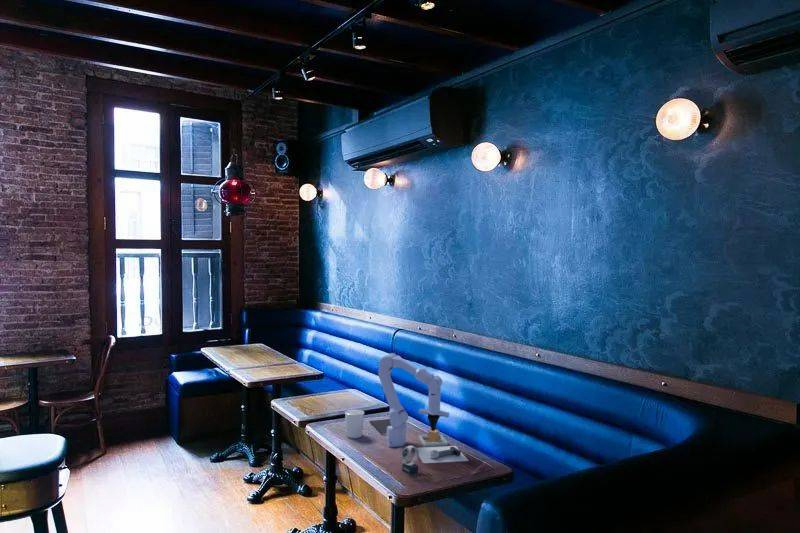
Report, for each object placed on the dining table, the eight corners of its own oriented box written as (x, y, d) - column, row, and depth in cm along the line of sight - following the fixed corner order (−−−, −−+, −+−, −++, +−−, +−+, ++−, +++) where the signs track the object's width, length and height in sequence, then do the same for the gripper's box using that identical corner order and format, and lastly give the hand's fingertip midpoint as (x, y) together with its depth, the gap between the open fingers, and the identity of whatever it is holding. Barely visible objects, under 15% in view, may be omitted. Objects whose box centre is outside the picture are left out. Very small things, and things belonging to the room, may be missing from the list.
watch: (398, 471, 234) (399, 446, 233) (413, 467, 238) (414, 442, 238) (406, 476, 229) (406, 450, 229) (421, 472, 234) (421, 446, 234)
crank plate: (423, 465, 241) (423, 463, 241) (413, 449, 260) (413, 447, 260) (468, 462, 245) (468, 460, 245) (455, 447, 264) (455, 445, 264)
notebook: (369, 423, 300) (382, 436, 280) (369, 420, 299) (382, 433, 280) (391, 421, 304) (405, 433, 284) (391, 418, 304) (405, 430, 284)
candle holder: (348, 439, 271) (349, 416, 271) (341, 433, 280) (342, 410, 280) (366, 437, 276) (367, 413, 276) (359, 431, 285) (359, 408, 284)
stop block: (435, 444, 266) (435, 432, 266) (427, 443, 268) (428, 431, 268) (438, 442, 270) (439, 430, 270) (431, 440, 272) (431, 428, 271)
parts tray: (424, 448, 262) (424, 443, 262) (418, 440, 273) (418, 435, 273) (447, 447, 264) (447, 442, 264) (440, 439, 276) (441, 434, 276)
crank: (434, 460, 244) (434, 453, 244) (427, 455, 249) (427, 449, 249) (460, 455, 251) (460, 448, 251) (453, 450, 256) (453, 444, 256)
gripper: (417, 402, 259) (416, 430, 259) (447, 406, 254) (445, 434, 255) (421, 398, 266) (420, 426, 266) (450, 402, 261) (449, 430, 261)
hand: (433, 430), depth 261 cm, fingers closed
